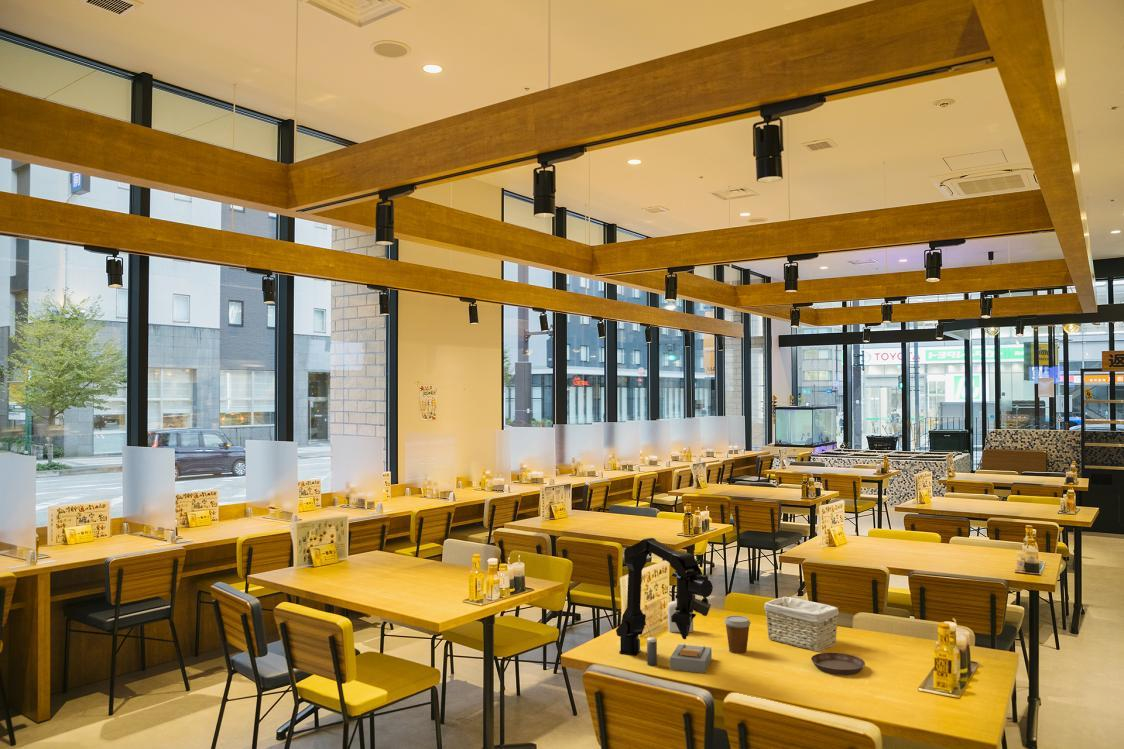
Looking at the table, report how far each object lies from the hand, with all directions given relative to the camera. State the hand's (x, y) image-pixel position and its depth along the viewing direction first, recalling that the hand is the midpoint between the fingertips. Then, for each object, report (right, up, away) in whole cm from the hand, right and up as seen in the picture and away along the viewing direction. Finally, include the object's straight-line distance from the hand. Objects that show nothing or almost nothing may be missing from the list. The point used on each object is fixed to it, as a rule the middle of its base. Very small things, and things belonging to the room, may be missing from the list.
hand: (685, 637), depth 257 cm
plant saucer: (+54, -13, +4) cm, 55 cm away
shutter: (+3, -8, +8) cm, 11 cm away
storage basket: (+51, -14, +34) cm, 63 cm away
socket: (+4, -13, +9) cm, 16 cm away
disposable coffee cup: (+23, -14, +23) cm, 36 cm away
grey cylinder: (-10, -13, +9) cm, 19 cm away
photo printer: (+6, -15, +50) cm, 52 cm away
